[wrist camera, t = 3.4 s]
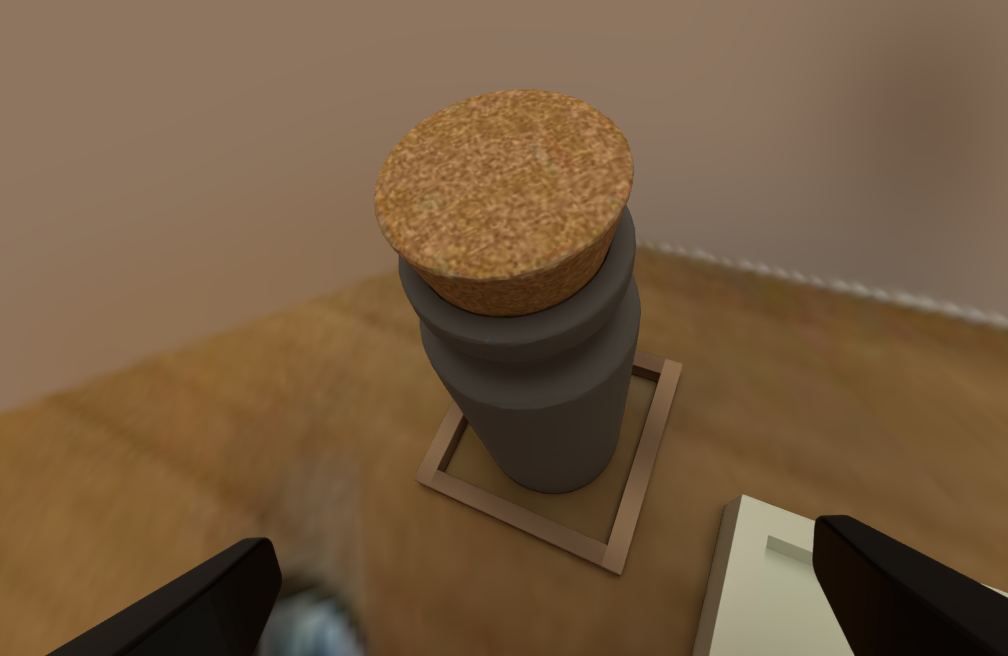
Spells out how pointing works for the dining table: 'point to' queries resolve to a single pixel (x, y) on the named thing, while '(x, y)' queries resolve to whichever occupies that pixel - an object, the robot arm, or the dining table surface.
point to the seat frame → (540, 526)
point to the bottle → (521, 274)
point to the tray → (766, 589)
